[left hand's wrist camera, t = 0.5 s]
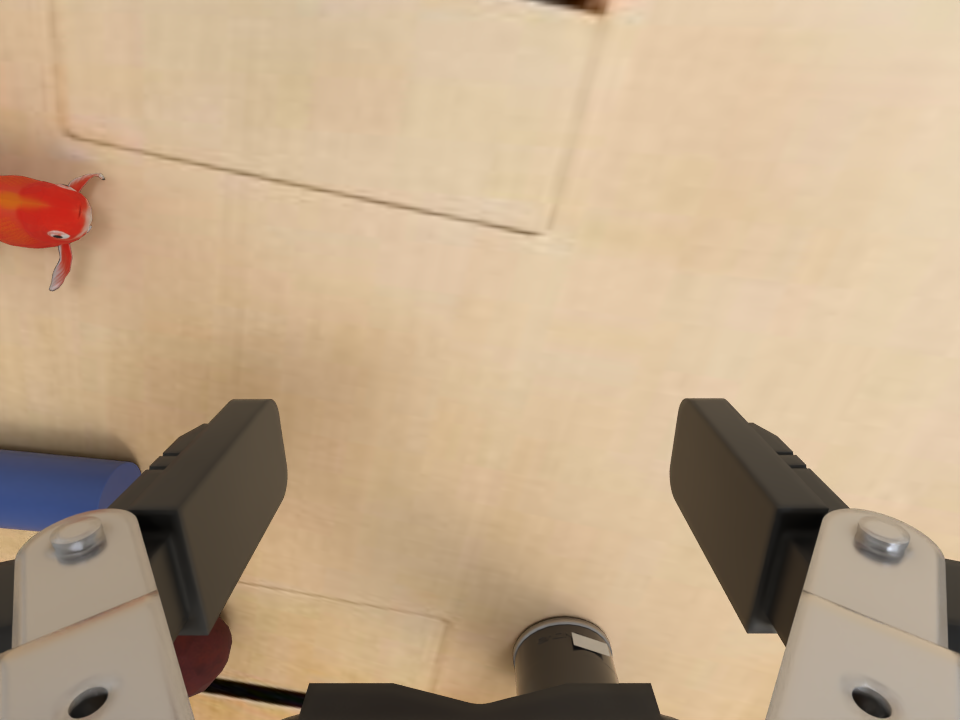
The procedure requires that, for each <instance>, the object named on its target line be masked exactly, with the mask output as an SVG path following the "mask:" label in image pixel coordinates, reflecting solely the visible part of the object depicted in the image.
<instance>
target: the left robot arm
mask: <svg viewBox="0 0 960 720" xmlns="http://www.w3.org/2000/svg"><path fill="white" fill-rule="evenodd" d="M670 485H671V490H672V494H673V497H674V499H675V501H676V503H677V505H678V507H679V508H680V510H681V512H682V514H683V516H684V518H685V519H686V521H687V523H688V525H689V527H690V529H691V530H692V532H693V534H694V536H695V538H696V540H697V542H698V543H699V545H700V547H701V549H702V551H703V553H704V554H705V556H706V558H707V560H708V562H709V564H710V565H711V567H712V569H713V571H714V573H715V575H716V577H717V578H718V580H719V582H720V584H721V586H722V588H723V589H724V591H725V593H726V595H727V597H728V599H729V601H730V602H731V604H732V606H733V608H734V610H735V612H736V613H737V615H738V617H739V619H740V621H741V623H742V624H743V626H744V628H745V630H746V632H747V633H778V635H779V637H780V638H781V640H782V642H783V643H784V645H785V647H786V649H785V652H784V656H783V659H782V663H781V666H780V670H779V673H778V677H777V680H776V684H775V688H774V691H773V695H772V698H771V702H770V705H769V709H768V712H767V716H766V719H765V720H960V562H959V561H954V560H949V559H944V555H943V553H942V552H941V550H940V549H939V547H938V546H937V545H936V544H935V543H934V542H933V541H932V540H931V539H930V538H928V537H927V536H926V535H924V534H923V533H922V532H920V531H918V530H917V529H915V528H914V527H912V526H910V525H908V524H906V523H904V522H902V521H900V520H897V519H895V518H892V517H889V516H887V515H884V514H880V513H877V512H873V511H868V510H862V509H850V508H849V507H848V506H847V505H846V504H845V503H844V502H843V501H842V500H841V499H840V498H839V497H838V496H837V495H836V494H835V493H834V492H833V491H832V490H831V489H830V488H829V487H828V486H827V485H826V484H825V483H824V482H823V481H822V480H821V479H820V478H819V477H818V476H817V475H816V474H815V473H814V472H813V471H812V470H811V469H807V468H806V464H805V463H804V462H803V461H802V460H801V459H800V458H799V457H798V456H797V455H793V451H792V450H791V449H790V448H789V447H788V446H787V445H786V444H785V443H784V442H783V441H782V440H781V439H779V438H778V437H777V436H776V435H774V434H772V433H770V432H769V431H767V430H765V429H763V428H761V427H760V426H758V425H756V424H754V423H748V422H747V421H746V420H745V419H744V418H743V417H742V416H741V415H740V414H739V413H738V412H737V411H736V410H735V409H734V407H733V406H732V405H731V404H730V403H729V402H728V401H727V400H726V399H722V398H685V399H684V400H683V401H682V402H681V404H680V407H679V411H678V417H677V423H676V430H675V437H674V444H673V450H672V457H671V464H670ZM286 486H287V464H286V458H285V451H284V444H283V438H282V431H281V424H280V418H279V412H278V408H277V405H276V403H275V401H273V400H272V399H233V400H231V401H230V402H229V403H228V404H227V405H226V406H225V407H224V408H223V409H222V410H221V411H220V412H219V413H218V414H217V415H216V416H215V417H214V418H213V419H212V420H211V421H210V422H209V423H208V424H202V425H200V426H199V427H197V428H195V429H193V430H191V431H189V432H188V433H186V434H184V435H182V436H180V437H179V438H178V439H177V440H176V441H175V442H174V443H173V444H172V445H171V446H170V447H169V448H168V449H167V450H166V451H165V452H164V453H163V456H160V457H159V458H157V459H156V460H155V461H154V462H153V463H152V464H151V465H150V469H149V470H145V471H144V472H143V473H142V474H141V475H140V476H139V477H138V478H137V479H136V480H135V481H134V482H133V483H132V484H131V485H130V486H129V487H128V488H127V489H126V490H125V491H124V492H123V493H122V494H121V495H120V496H119V497H118V498H117V499H116V500H115V501H114V502H113V503H112V504H111V505H110V506H109V507H108V508H107V509H98V510H92V511H87V512H83V513H80V514H76V515H73V516H71V517H68V518H65V519H63V520H60V521H58V522H56V523H54V524H52V525H50V526H48V527H46V528H45V529H43V530H42V531H40V532H38V533H37V534H36V535H34V536H33V537H32V538H30V539H29V540H28V541H27V542H26V543H25V544H24V545H23V546H22V547H21V549H20V550H19V552H18V553H17V555H16V559H15V560H10V561H5V562H0V720H195V719H194V716H193V712H192V709H191V705H190V702H189V698H188V695H187V691H186V688H185V684H184V680H183V677H182V673H181V670H180V666H179V663H178V659H177V656H176V652H175V649H174V645H173V642H174V641H175V639H176V638H177V636H178V635H209V633H210V631H211V630H212V628H213V626H214V624H215V622H216V620H217V619H218V617H219V615H220V613H221V611H222V610H223V608H224V606H225V604H226V602H227V600H228V599H229V597H230V595H231V593H232V591H233V589H234V588H235V586H236V584H237V582H238V580H239V579H240V577H241V575H242V573H243V571H244V569H245V568H246V566H247V564H248V562H249V560H250V559H251V557H252V555H253V553H254V551H255V549H256V548H257V546H258V544H259V542H260V540H261V538H262V537H263V535H264V533H265V531H266V529H267V528H268V526H269V524H270V522H271V520H272V518H273V517H274V515H275V513H276V511H277V509H278V508H279V506H280V504H281V502H282V500H283V498H284V495H285V491H286ZM513 662H514V668H515V675H516V690H517V696H515V697H511V698H507V699H503V700H500V701H496V702H492V703H487V704H473V703H468V702H464V701H460V700H457V699H453V698H449V697H445V696H441V695H437V694H433V693H429V692H425V691H421V690H417V689H413V688H410V687H406V686H402V685H398V684H394V683H309V686H308V689H307V692H306V696H305V699H304V702H303V705H302V708H301V712H300V714H298V715H295V716H291V717H288V718H285V719H282V720H678V719H675V718H672V717H669V716H665V715H662V714H660V712H659V708H658V705H657V702H656V699H655V696H654V692H653V689H652V686H651V683H619V682H618V678H617V674H616V670H615V666H614V662H613V658H612V650H611V646H610V643H609V640H608V638H607V636H606V635H605V634H604V632H603V631H602V630H601V629H599V628H598V627H597V626H595V625H594V624H592V623H590V622H587V621H585V620H581V619H577V618H568V617H561V618H553V619H548V620H545V621H542V622H539V623H537V624H535V625H533V626H531V627H530V628H528V629H527V630H526V631H525V632H524V633H523V634H522V635H521V636H520V637H519V638H518V640H517V642H516V644H515V646H514V650H513Z"/></svg>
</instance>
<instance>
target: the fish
mask: <svg viewBox="0 0 960 720" xmlns="http://www.w3.org/2000/svg"><path fill="white" fill-rule="evenodd" d="M93 176H98V177H100V178H101V179H102V180H105V178H104V177H103V175H102V174H101V173H97V174H86V175H84V176H81V177H78V178H75V179H74V180H72V181H71V182H70V183H69V185H68V186H67V185H63V184H52V183H48V182H44V181H39V180H35V179H31V178H27V177H23V176H14V175H8V176H0V241H1V242H4V243H6V244H9V245H13V246H20V247H27V248H47V247H55V246H58V249H59V253H60V259H59V262H58V264H57V265H56V267H55V269H54V272H53V275H52V282H51V285H50V288H49V290H50V291H54V290H56V289H58V288H59V287H60V286H61V285H62V283H63V282H64V279H65V277H66V276H67V275H68V273H69V272H70V268H71V262H72V252H71V247H70V243H71V242H74V241H76V240H79V239H80V238H81V237H82V236H84V235H85V234H86V233H88V232H89V231H90V229H91V227H92V226H90V224H91V222H92V209H91V207H90V204H89V202H88V200H87V199H86V198H85V197H84V196H83V195H82V194H81V193H79V192H80V191H81V189H82V188H83V186H84V185H85V184H86V183H87V182H88V181H89V179H91V178H92V177H93Z"/></svg>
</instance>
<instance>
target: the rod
mask: <svg viewBox="0 0 960 720" xmlns="http://www.w3.org/2000/svg"><path fill="white" fill-rule="evenodd" d="M140 475H141V472H140V470H139V468H138V466H137V465H136V464H134V463H132V462H127V461H116V460H106V459H95V458H85V457H74V456H64V455H54V454H43V453H33V452H22V451H12V450H2V449H0V528H6V529H18V530H29V531H42V530H43V529H45V528H46V527H48V526H50V525H52V524H54V523H56V522H58V521H60V520H63V519H65V518H68V517H71V516H73V515H76V514H80V513H83V512H87V511H92V510H98V509H107V508H108V507H109V506H110V505H111V504H112V503H113V502H114V501H115V500H116V499H117V498H118V497H119V496H120V495H121V494H122V493H123V492H124V491H125V490H126V489H127V488H128V487H129V486H130V485H131V484H132V483H133V482H134V481H135V480H136V479H137V478H138V477H139V476H140Z"/></svg>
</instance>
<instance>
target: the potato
mask: <svg viewBox="0 0 960 720" xmlns="http://www.w3.org/2000/svg"><path fill="white" fill-rule="evenodd" d="M173 645H174V649H175V652H176V656H177V659H178V663H179V666H180V670H181V673H182V677H183V680H184V684H185V688H186V691H187V695H188V697H191V696H194V695H196V694H198V693H200V692H203V691H205V689H206V688H207V687H208V686H209V685H210V684H211V683H212V682H213V681H214V679H215V678H216V677H217V676H218V675H219V674H220V673H221V672H222V670H223V668H224V667H225V665H226V663H227V661H228V658H229V653H230V649H231V645H232V637H231V633H230V630H229V627H228V626H227V625H226V624H225V623H224V621H223V620H222V619H221V618H220V617H218V619H217V620H216V622H215V624H214V626H213V628H212V630H211V631H210V633H209V635H178V636H177V638H176V639H175V641H174V642H173Z"/></svg>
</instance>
